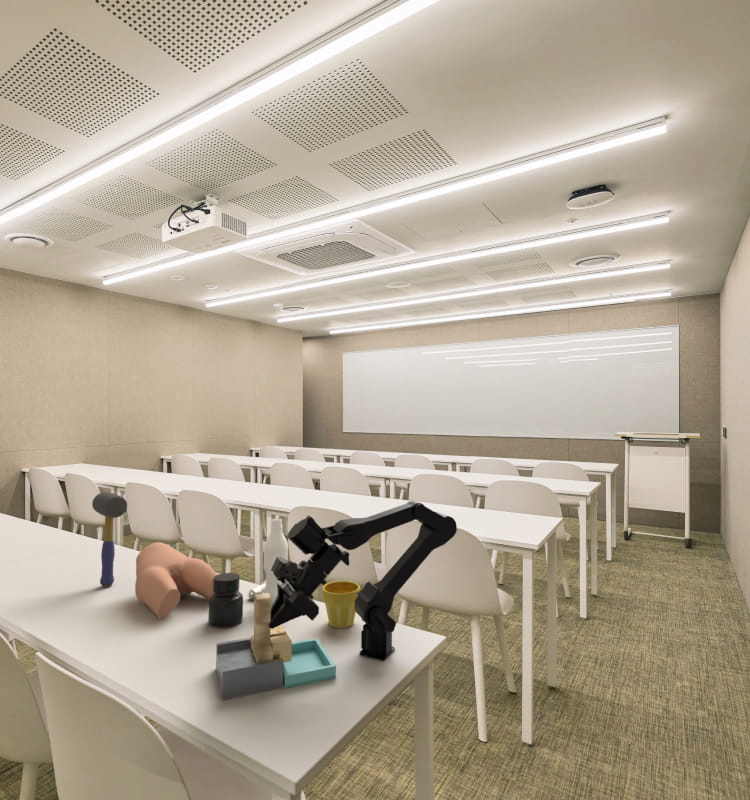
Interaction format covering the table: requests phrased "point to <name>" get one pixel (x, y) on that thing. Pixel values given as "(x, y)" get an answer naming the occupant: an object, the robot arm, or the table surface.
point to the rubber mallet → (108, 530)
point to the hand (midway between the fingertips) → (268, 624)
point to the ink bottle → (225, 601)
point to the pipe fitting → (257, 590)
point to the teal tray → (308, 664)
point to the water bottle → (274, 556)
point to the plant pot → (340, 602)
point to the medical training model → (169, 578)
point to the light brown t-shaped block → (262, 628)
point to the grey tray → (245, 670)
